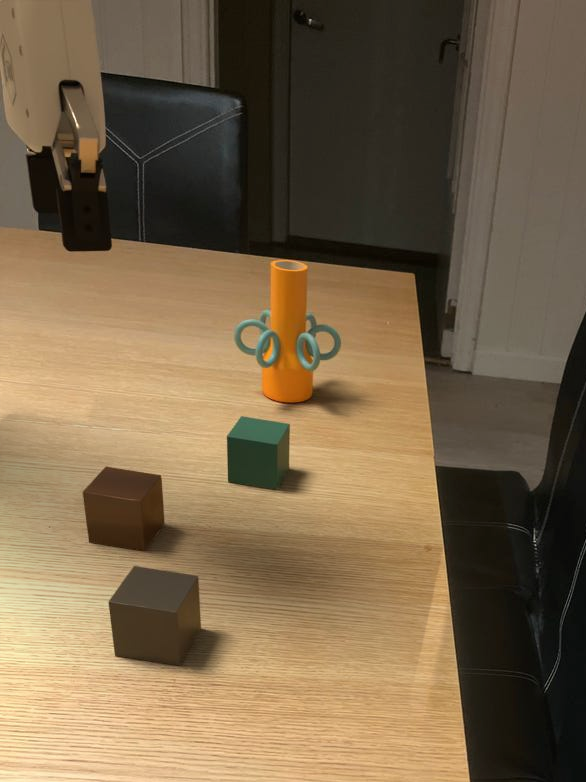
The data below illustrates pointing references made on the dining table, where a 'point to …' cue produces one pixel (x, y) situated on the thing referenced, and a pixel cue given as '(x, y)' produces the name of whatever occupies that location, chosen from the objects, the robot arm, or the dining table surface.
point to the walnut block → (124, 508)
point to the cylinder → (287, 336)
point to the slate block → (155, 615)
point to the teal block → (258, 452)
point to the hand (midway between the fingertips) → (71, 230)
